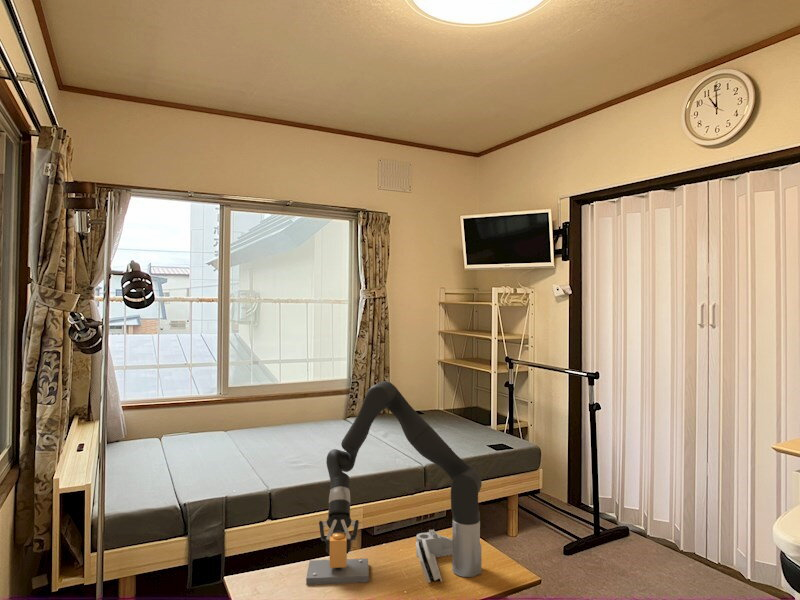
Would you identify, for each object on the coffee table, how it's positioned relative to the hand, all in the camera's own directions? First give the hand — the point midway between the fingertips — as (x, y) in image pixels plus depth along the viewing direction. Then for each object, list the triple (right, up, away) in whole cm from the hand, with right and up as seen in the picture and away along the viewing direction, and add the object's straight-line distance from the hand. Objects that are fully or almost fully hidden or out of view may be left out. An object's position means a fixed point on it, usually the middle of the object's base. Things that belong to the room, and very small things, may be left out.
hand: (338, 552), depth 176 cm
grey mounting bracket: (+35, -9, +17) cm, 40 cm away
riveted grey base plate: (0, -8, +2) cm, 8 cm away
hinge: (+30, -8, +5) cm, 31 cm away
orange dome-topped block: (0, -4, +2) cm, 5 cm away
